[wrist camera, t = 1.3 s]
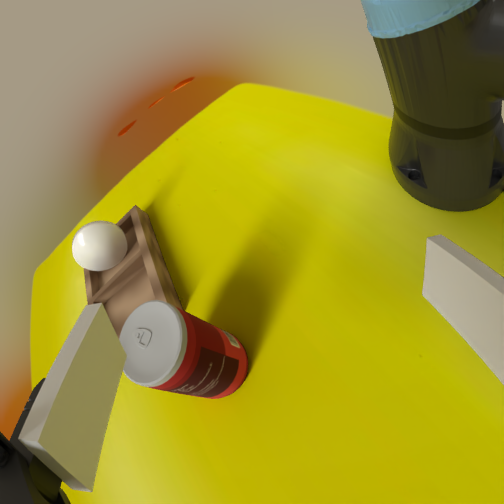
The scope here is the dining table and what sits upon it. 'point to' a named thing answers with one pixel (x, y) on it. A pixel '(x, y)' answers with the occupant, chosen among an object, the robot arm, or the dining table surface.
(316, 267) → the dining table surface
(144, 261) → the walnut tray
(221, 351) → the canned food
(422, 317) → the dining table surface
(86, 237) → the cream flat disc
